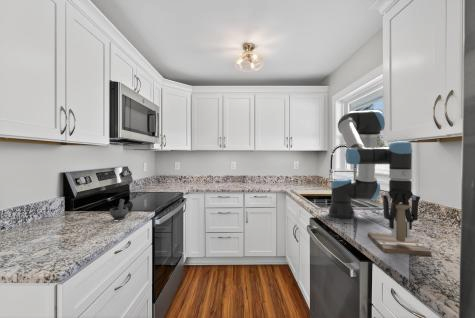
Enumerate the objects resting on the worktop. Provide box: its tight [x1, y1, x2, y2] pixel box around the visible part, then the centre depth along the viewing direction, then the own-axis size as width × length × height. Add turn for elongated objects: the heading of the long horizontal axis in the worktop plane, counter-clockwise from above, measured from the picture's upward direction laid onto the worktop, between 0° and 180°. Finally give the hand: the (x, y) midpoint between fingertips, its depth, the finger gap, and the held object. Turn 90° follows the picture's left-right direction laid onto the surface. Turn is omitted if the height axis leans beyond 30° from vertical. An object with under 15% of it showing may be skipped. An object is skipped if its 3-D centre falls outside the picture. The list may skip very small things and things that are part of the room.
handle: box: [390, 202, 410, 242], centre depth 97 cm, size 5×6×15 cm
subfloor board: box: [367, 231, 432, 256], centre depth 101 cm, size 20×16×2 cm
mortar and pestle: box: [109, 198, 129, 221], centre depth 144 cm, size 11×9×12 cm
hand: (400, 236), depth 97 cm, fingers closed on handle, 4 cm apart
